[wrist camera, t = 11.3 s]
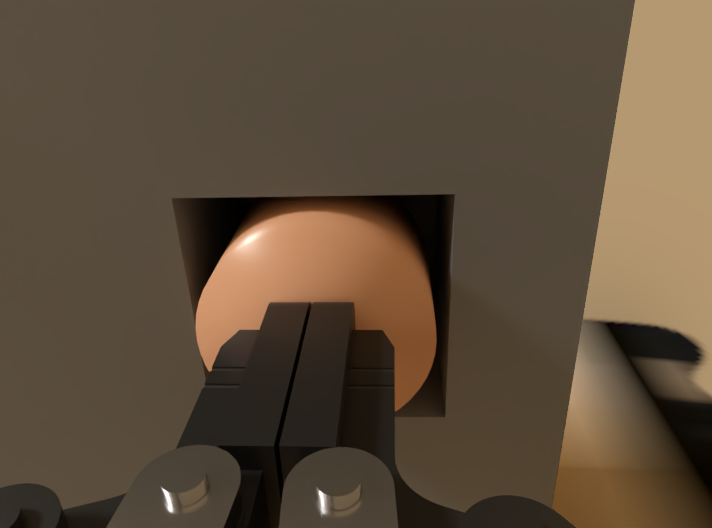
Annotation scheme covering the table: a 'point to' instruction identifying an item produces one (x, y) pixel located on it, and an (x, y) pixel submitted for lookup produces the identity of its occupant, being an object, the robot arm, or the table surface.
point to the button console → (289, 179)
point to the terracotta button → (327, 275)
